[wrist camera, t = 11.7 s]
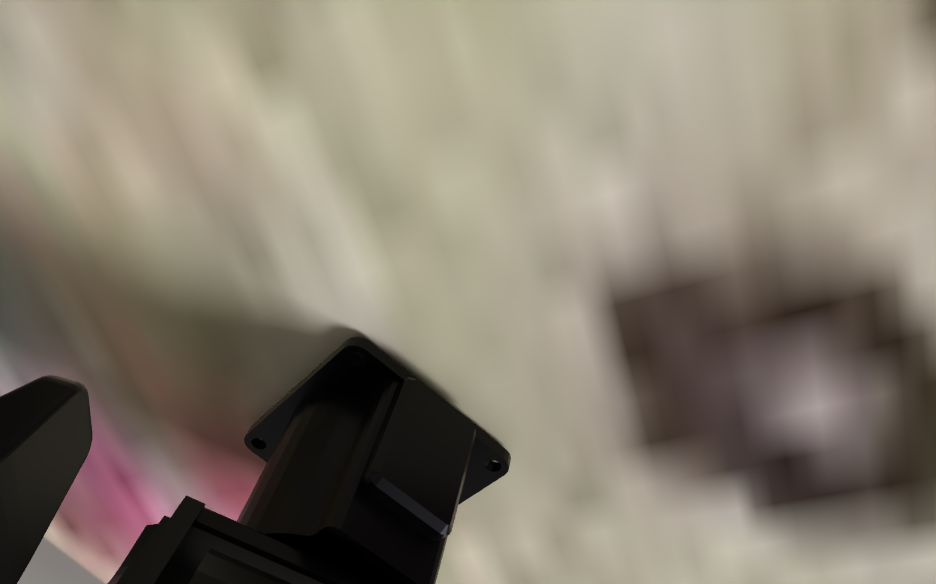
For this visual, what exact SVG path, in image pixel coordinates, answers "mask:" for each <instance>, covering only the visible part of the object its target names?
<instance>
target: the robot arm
mask: <svg viewBox="0 0 936 584" xmlns="http://www.w3.org/2000/svg"><path fill="white" fill-rule="evenodd" d="M353 352H358V353H360V354H362V356H363V357H358V356H356V355H355V354H354V353H353ZM244 441H245V444H246V446H247V447H248V448H249V449H250V450H251V451H252V452H253V453H255V454H256V455H258V456H259V457H260V458H262V459H263V460H265V461H266V462H267V464H266V466H265V468H264V470H263V472H262V474H261V476H260V478H259V480H258V482H257V483H256V485H255V487H254V489H253V491H252V493H251V495H250V497H249V499H248V501H247V503H246V505H245V506H244V508H243V510H242V512H241V514H240V516H239V518H238V520H237V522H236V521H234V520H232V519H230V518H227V517H225V516H223V515H221V514H218V513H216V512H214V511H211V510H209V509H207V508H205V503H202V502H200V501H198V500H195V499H193V498H191V497H189V496H185V498H184V499H183V501H182V502H181V504H180V505H179V506H178V508H177V509H176V511H175V512H174V514H173V515H172V517H171V518H169V517H167V516H164V517H163V518H162V520H161V521H160V522H159V524H153V525H146V527H145V529H144V530H143V532H142V533H141V535H140V536H139V538H138V540H137V541H136V543H135V544H134V546H133V548H132V549H131V551H130V552H129V554H128V556H127V557H126V559H125V560H124V562H123V563H122V565H121V566H120V568H119V569H118V571H117V572H116V573H115V575H114V576H113V578H112V579H111V580H110V581H109V582H108V584H435V583H436V579H437V575H438V571H439V567H440V564H441V560H442V556H443V552H444V548H445V544H446V540H447V537H448V535H449V534H450V532H451V531H452V527H453V523H454V519H455V515H456V511H457V507H458V505H459V504H460V503H462V502H463V501H465V500H467V499H468V498H470V497H471V496H473V495H474V494H476V493H477V492H479V491H481V490H482V489H484V488H485V487H487V486H488V485H490V484H491V483H493V482H494V481H496V480H498V479H499V478H501V477H502V476H504V475H505V474H506V473H507V472H508V469H509V465H510V460H511V457H510V454H509V452H508V451H507V450H506V449H505V448H503V447H502V446H501V445H500V444H498V443H497V442H496V441H495V440H493V439H492V438H491V437H490V436H488V435H487V434H486V433H485V432H483V431H482V430H481V429H479V428H478V427H477V426H476V425H474V424H473V423H472V422H471V421H469V420H468V419H467V418H466V417H464V416H463V415H462V414H461V413H459V412H458V411H457V410H456V409H454V408H453V407H452V406H450V405H449V404H448V403H447V402H445V401H444V400H443V399H442V398H440V397H439V396H438V395H437V394H435V393H434V392H433V391H432V390H430V389H429V388H428V387H427V386H425V385H424V384H423V383H421V382H420V381H419V380H418V379H416V378H415V377H414V376H413V375H411V374H410V373H409V372H408V371H406V370H405V369H404V368H403V367H401V366H400V365H399V364H398V363H396V362H395V361H394V360H393V359H391V358H390V357H389V356H387V355H386V354H385V353H384V352H382V351H381V350H380V349H379V348H377V347H376V346H375V345H374V344H372V343H371V342H370V341H368V340H366V339H364V338H360V337H354V338H351V339H349V340H347V341H346V342H345V343H344V344H343V345H341V346H340V347H339V348H338V349H337V350H336V351H335V352H334V353H333V354H331V355H330V356H329V357H328V358H327V359H326V360H325V361H324V362H323V363H321V364H320V365H319V366H318V367H317V368H316V369H315V370H314V371H313V372H311V373H310V374H309V375H308V376H307V377H306V378H305V379H304V380H303V381H301V382H300V383H299V384H298V385H297V386H296V387H295V388H294V389H293V390H291V391H290V392H289V393H288V394H287V395H286V396H285V397H284V398H282V399H281V400H280V401H279V402H278V403H277V404H276V405H275V406H274V407H272V408H271V409H270V410H269V411H268V412H267V413H266V414H265V415H264V416H262V417H261V418H260V419H259V420H258V421H257V422H256V423H255V424H254V425H252V426H251V428H250V429H249V431H248V433H247V435H246V436H245V438H244ZM91 443H92V426H91V416H90V406H89V396H88V391H87V389H86V388H85V386H84V385H83V384H81V383H79V382H75V381H72V380H68V379H65V378H61V377H58V376H52V375H48V376H44V377H41V378H38V379H36V380H34V381H32V382H30V383H28V384H26V385H24V386H21V387H19V388H17V389H15V390H13V391H11V392H9V393H7V394H5V395H3V396H1V397H0V584H17V582H18V581H19V579H20V577H21V575H22V574H23V572H24V571H25V568H26V567H27V565H28V564H29V562H30V560H31V558H32V556H33V555H34V553H35V551H36V549H37V547H38V545H39V544H40V542H41V540H42V538H43V536H44V534H45V533H46V531H47V529H48V527H49V525H50V523H51V522H52V520H53V518H54V516H55V514H56V512H57V511H58V509H59V507H60V505H61V503H62V501H63V500H64V498H65V496H66V494H67V492H68V490H69V489H70V487H71V485H72V483H73V481H74V479H75V478H76V476H77V474H78V472H79V470H80V468H81V466H82V465H83V463H84V461H85V459H86V457H87V455H88V453H89V450H90V447H91ZM490 460H495V461H497V462H492V461H490Z"/></svg>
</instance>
